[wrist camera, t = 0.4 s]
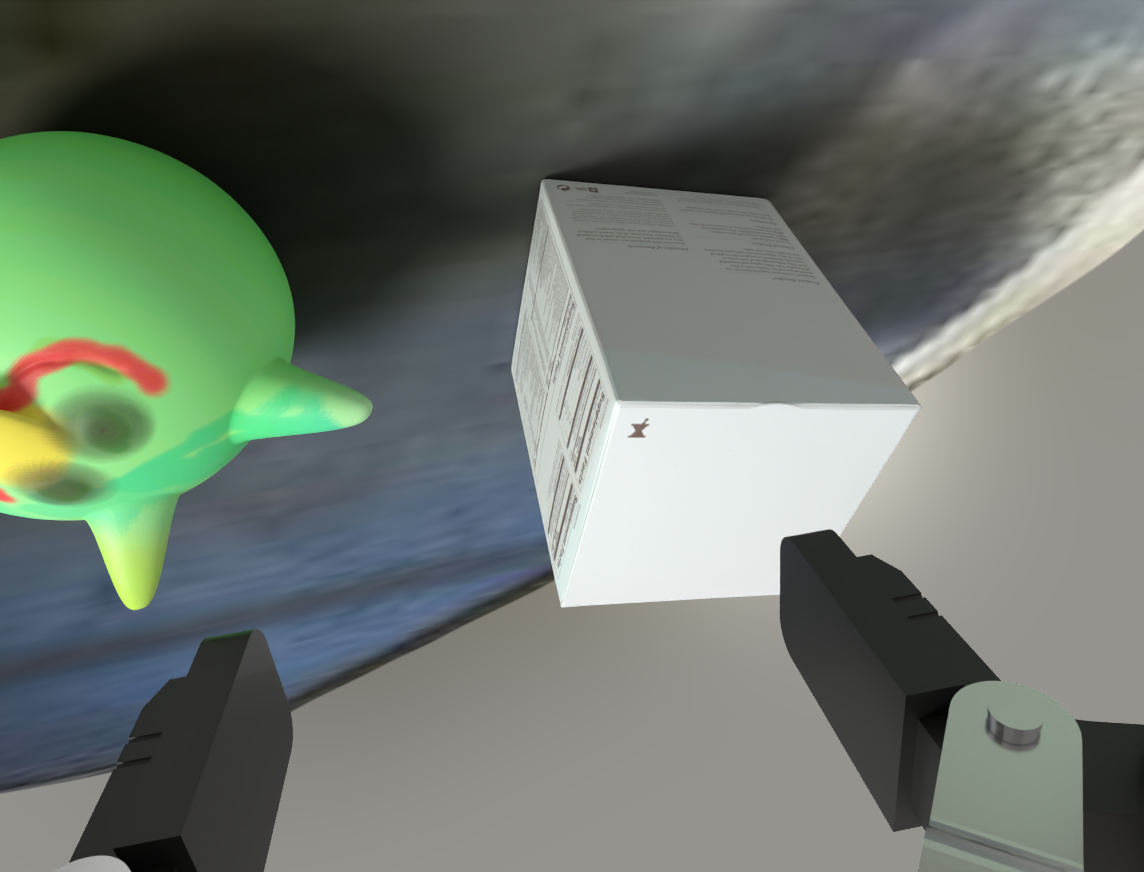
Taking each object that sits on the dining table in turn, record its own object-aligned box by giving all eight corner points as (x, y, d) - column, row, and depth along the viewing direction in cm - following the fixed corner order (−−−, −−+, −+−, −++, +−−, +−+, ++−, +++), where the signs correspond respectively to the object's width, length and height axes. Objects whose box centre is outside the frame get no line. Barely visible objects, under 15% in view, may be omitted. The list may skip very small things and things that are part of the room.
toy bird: (61, -11, 32) (-84, 154, 21) (385, 255, 42) (392, 450, 32) (-152, 268, 37) (-347, 501, 27) (178, 438, 48) (128, 653, 38)
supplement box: (506, 374, 49) (553, 612, 37) (538, 173, 41) (613, 400, 28) (704, 378, 53) (807, 598, 41) (773, 194, 44) (931, 404, 32)
